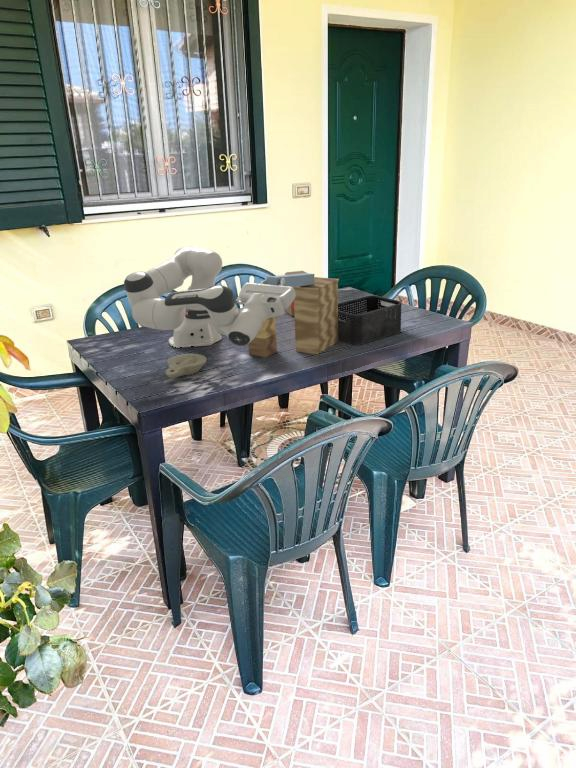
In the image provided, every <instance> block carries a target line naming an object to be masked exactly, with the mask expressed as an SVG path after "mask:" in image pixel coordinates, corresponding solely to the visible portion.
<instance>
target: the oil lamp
mask: <svg viewBox="0 0 576 768" xmlns="http://www.w3.org/2000/svg"><path fill="white" fill-rule="evenodd" d="M166 362H167V365H168V368H167V369H166V370H165V375H166V376H167V377H168V378H169V379H176V378H178V377H183V376H184V375H185V376H191V374H192V375H194V373H195V374H197V373H198V372H199V371H200V370H201V368H202V367H203V366H204V365H205V364H206V362H207V358H206V356H205V355H202V354H199V353H183V354H176V355H173V356H171V357H169V358H168V359H167V360H166Z"/></svg>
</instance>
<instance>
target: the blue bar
mask: <svg viewBox="0 0 576 768" xmlns="http://www.w3.org/2000/svg"><path fill="white" fill-rule="evenodd" d="M314 277H315V273H309V272H306V273H302V274H291V275H285V274H283V275H282V274H281V275H272V276H271V275H270V276H266V278H267V285H279V280H280V278H284V279H285V284H284V286H289V287H298V286H306V285H314Z"/></svg>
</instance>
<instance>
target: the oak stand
mask: <svg viewBox="0 0 576 768" xmlns="http://www.w3.org/2000/svg"><path fill="white" fill-rule="evenodd" d="M339 281H340V279H339V278H330V277H329V278H328V277H317V276H316V277H315V276H314V285H306V286H298V287H293V288H294V290H295V293H296V297H295V299H294V314H295V316H294V334H295V335H294V341H295V352H299V353H306V354H312V355H319V353H320V354H321V353H322V351H323V352H324V351H326V350H327V349H329V348H331V347H332V346H334V345H335V344H336V343H338V342H339V340H338V303H339V284H338V283H339ZM337 341H338V342H337ZM325 349H326V350H325Z"/></svg>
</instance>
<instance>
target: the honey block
mask: <svg viewBox="0 0 576 768" xmlns="http://www.w3.org/2000/svg"><path fill="white" fill-rule="evenodd" d="M276 327H277V326H276V317H271V318H267V319H266V321H265V322H263V323H262V327H261V329H260V331H259V332H258V334H257V335H256V338H263V339H266V338H268V337H270V336H272V335H273V334H275V333H276V334H277V329H276Z"/></svg>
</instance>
